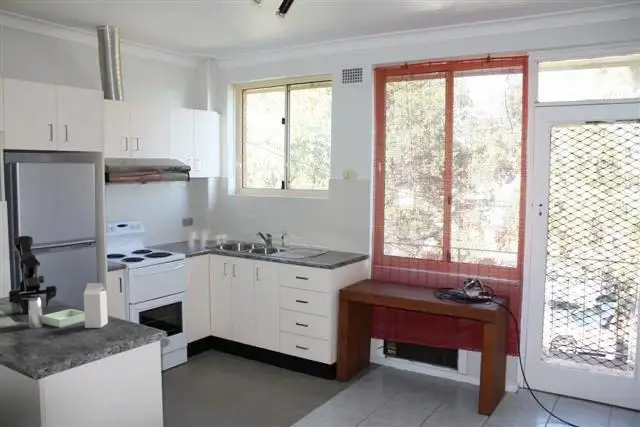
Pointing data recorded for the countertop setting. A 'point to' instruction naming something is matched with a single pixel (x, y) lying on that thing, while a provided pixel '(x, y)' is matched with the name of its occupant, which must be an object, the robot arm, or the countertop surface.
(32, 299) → the steel canister
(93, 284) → the milk carton
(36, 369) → the countertop surface
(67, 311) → the tray
